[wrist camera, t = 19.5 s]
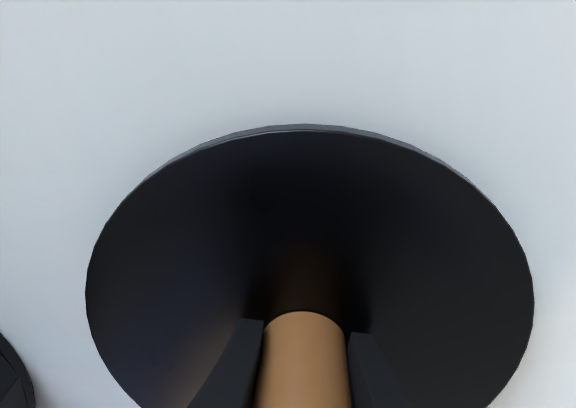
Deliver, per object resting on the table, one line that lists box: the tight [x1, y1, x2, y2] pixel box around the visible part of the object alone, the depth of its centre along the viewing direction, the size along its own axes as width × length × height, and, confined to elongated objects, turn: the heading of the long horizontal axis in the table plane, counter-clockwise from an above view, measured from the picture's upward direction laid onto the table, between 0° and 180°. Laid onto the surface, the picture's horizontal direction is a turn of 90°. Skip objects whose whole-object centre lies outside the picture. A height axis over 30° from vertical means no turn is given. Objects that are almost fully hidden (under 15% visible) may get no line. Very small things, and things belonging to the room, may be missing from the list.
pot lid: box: [85, 124, 535, 408], centre depth 10 cm, size 12×12×4 cm
